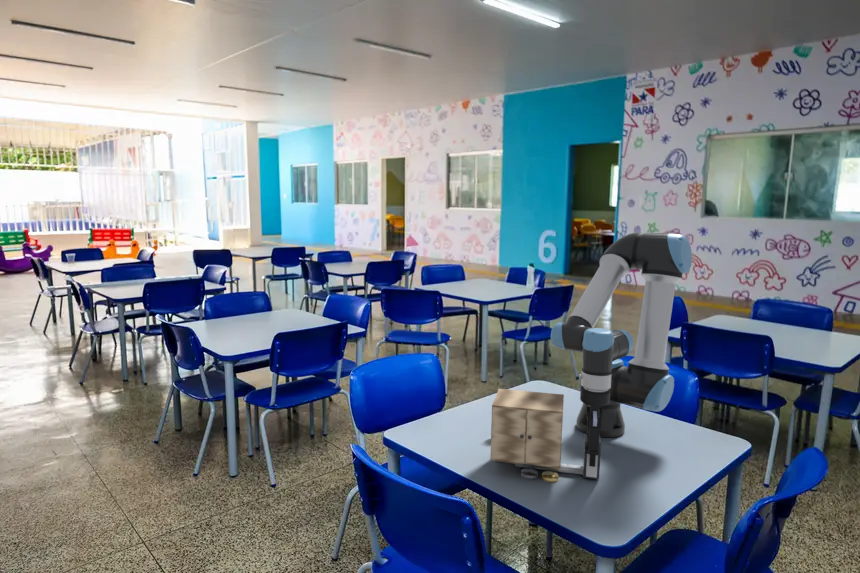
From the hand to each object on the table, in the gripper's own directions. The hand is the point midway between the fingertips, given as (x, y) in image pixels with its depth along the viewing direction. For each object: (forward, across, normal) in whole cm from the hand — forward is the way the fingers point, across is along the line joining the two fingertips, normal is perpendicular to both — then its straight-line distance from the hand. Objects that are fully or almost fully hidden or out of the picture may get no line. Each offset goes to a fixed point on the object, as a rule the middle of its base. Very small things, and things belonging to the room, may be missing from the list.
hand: (590, 471), depth 150 cm
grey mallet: (+1, 0, -9) cm, 9 cm away
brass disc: (+2, +4, -10) cm, 11 cm away
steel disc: (+2, +4, -16) cm, 17 cm away
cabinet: (+1, +1, -17) cm, 17 cm away
